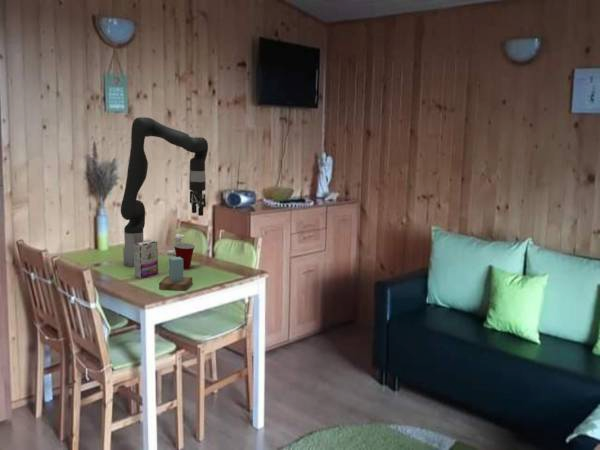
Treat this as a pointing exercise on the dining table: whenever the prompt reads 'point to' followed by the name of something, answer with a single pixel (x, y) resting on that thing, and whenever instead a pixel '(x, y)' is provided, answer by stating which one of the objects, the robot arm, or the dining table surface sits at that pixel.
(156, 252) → the candy bar box
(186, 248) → the plastic cup
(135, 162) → the robot arm
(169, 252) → the seated beast figurine
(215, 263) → the dining table surface
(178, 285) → the walnut board
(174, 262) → the teal block
